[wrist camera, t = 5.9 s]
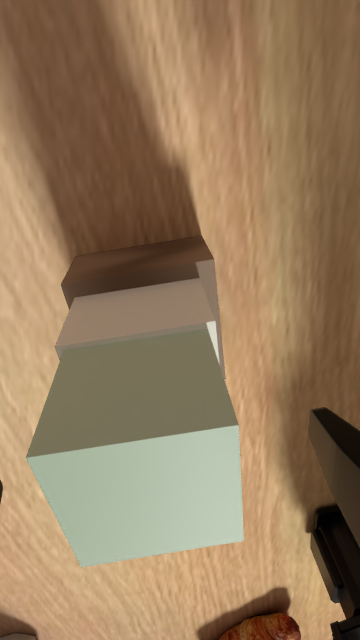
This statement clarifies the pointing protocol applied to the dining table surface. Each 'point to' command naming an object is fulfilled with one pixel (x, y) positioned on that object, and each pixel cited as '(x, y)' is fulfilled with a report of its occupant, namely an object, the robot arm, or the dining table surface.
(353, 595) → the robot arm
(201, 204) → the dining table surface
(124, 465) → the sage block
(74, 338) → the cream middle block
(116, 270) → the walnut base block
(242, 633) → the croissant
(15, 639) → the salt shaker
